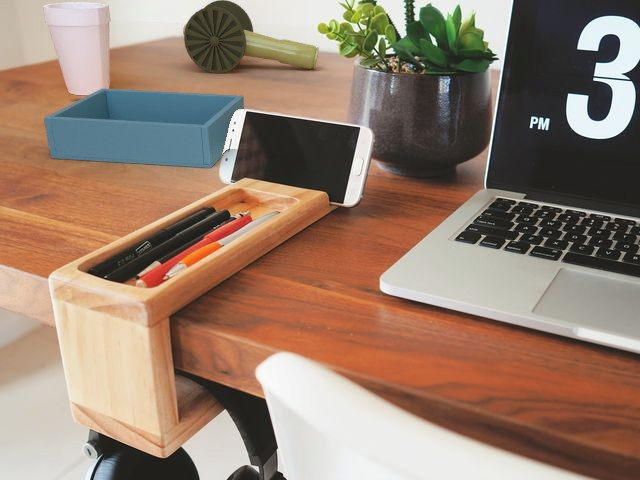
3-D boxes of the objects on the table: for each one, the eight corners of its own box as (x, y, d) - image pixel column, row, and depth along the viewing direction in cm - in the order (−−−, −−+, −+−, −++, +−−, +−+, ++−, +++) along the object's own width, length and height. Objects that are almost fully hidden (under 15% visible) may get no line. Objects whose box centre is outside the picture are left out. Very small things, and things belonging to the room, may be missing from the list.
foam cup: (83, 82, 122) (71, 0, 116) (130, 87, 120) (120, 4, 114) (45, 94, 114) (29, 7, 108) (94, 99, 112) (81, 11, 106)
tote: (50, 158, 86) (43, 117, 84) (107, 124, 100) (102, 88, 97) (210, 168, 84) (207, 126, 82) (245, 131, 98) (243, 95, 96)
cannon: (320, 63, 142) (320, 2, 137) (317, 76, 131) (316, 10, 126) (193, 60, 141) (187, -2, 136) (179, 72, 131) (173, 6, 126)
